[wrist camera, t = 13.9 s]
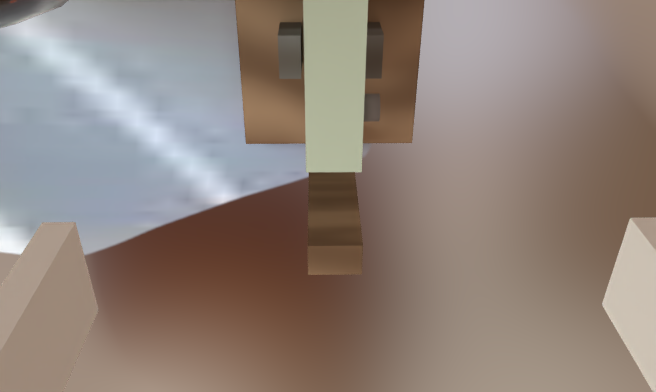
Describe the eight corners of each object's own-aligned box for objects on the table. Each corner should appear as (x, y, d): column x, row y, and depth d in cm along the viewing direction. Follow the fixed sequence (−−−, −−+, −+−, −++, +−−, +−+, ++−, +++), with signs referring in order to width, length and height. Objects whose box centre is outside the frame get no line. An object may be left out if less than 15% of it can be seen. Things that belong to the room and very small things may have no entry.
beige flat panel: (305, -141, 37) (301, -119, 25) (373, -140, 37) (401, -118, 25) (308, 77, 45) (306, 172, 33) (365, 77, 45) (383, 171, 33)
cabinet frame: (219, -251, 35) (151, -296, 21) (441, -249, 36) (531, -293, 21) (247, 135, 49) (218, 275, 34) (409, 134, 49) (450, 273, 34)
